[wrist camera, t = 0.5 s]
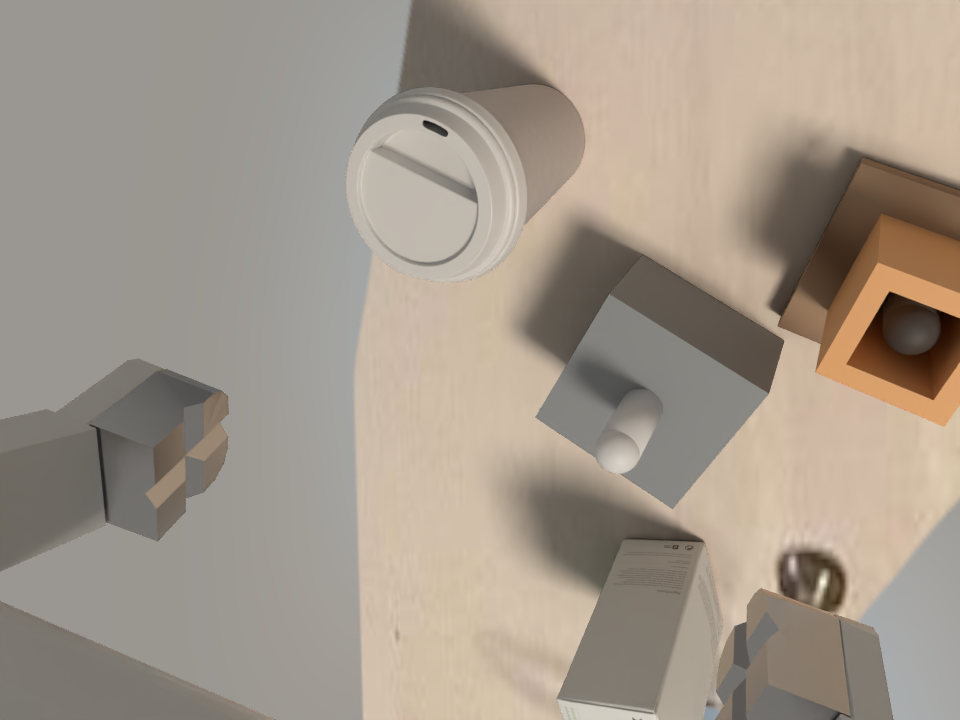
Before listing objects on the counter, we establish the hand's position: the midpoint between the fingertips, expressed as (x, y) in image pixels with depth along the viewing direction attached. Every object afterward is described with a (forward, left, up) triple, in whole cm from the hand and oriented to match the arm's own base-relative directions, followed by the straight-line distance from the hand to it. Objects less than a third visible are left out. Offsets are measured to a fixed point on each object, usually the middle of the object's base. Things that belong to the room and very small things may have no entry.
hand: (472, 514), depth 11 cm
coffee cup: (+8, -12, -38) cm, 41 cm away
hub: (+16, +3, -38) cm, 41 cm away
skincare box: (+32, +13, -38) cm, 52 cm away
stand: (+4, +11, -38) cm, 40 cm away
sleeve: (+4, +11, -36) cm, 38 cm away
